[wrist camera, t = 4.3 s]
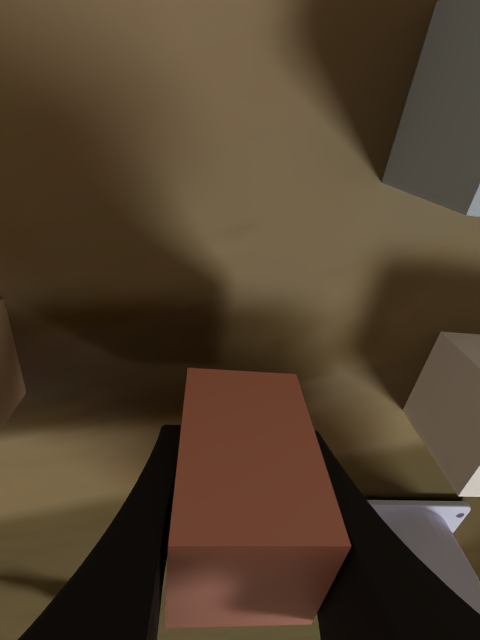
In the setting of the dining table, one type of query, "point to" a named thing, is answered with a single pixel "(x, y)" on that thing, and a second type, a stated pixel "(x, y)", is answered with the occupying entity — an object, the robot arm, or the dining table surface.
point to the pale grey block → (451, 409)
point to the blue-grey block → (443, 114)
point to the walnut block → (8, 369)
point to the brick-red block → (250, 506)
